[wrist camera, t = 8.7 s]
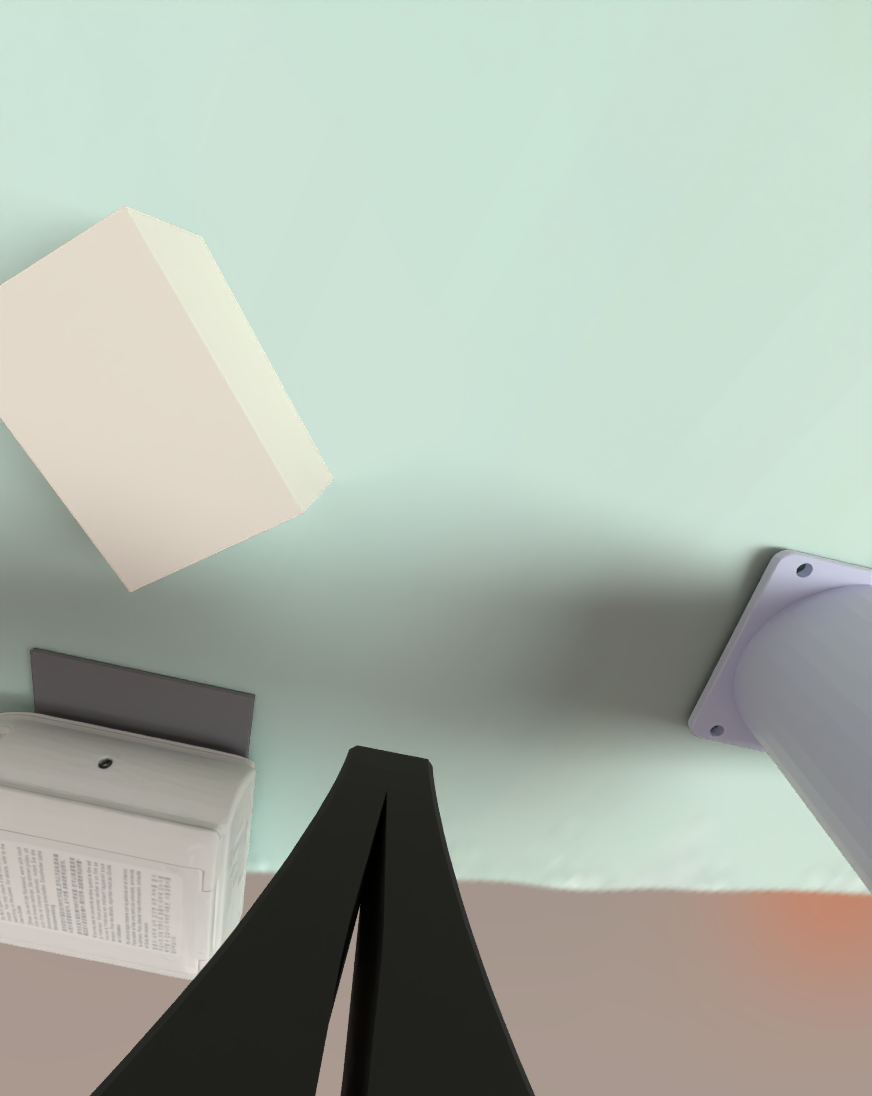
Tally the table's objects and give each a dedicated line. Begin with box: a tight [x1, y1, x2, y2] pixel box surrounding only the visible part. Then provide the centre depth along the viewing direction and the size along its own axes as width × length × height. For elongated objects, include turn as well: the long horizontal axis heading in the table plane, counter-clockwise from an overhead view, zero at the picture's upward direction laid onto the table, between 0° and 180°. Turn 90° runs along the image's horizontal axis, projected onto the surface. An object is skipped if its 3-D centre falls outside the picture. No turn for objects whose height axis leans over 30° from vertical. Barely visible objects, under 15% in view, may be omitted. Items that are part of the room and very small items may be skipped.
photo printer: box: [0, 712, 256, 980], centre depth 22 cm, size 10×4×12 cm
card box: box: [0, 206, 334, 592], centre depth 15 cm, size 6×8×4 cm
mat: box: [30, 648, 255, 759], centre depth 24 cm, size 9×14×1 cm, turn 167°
